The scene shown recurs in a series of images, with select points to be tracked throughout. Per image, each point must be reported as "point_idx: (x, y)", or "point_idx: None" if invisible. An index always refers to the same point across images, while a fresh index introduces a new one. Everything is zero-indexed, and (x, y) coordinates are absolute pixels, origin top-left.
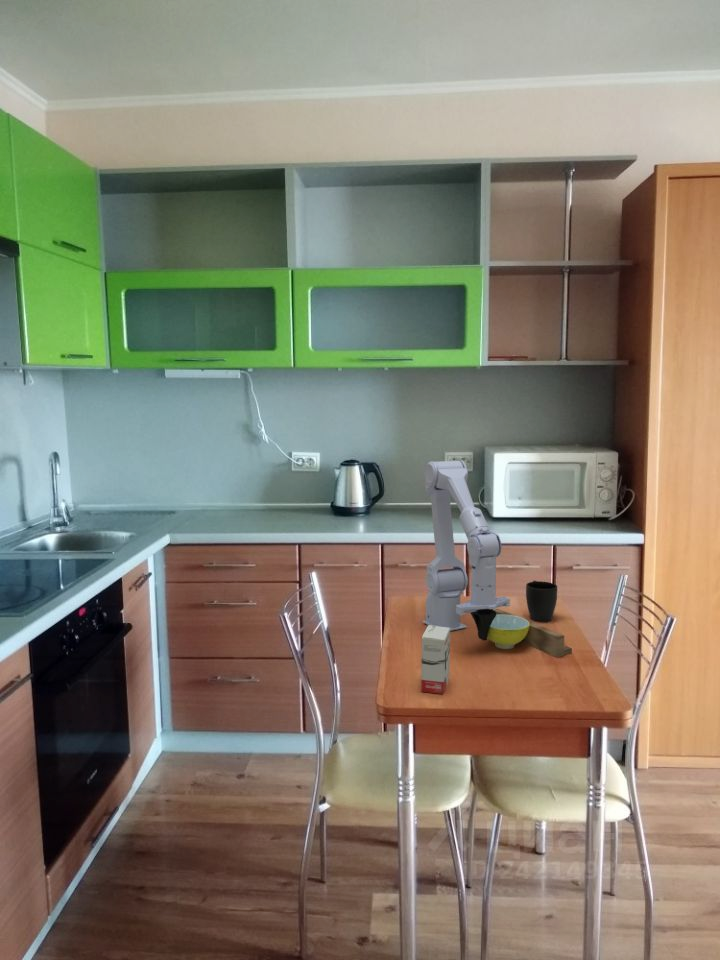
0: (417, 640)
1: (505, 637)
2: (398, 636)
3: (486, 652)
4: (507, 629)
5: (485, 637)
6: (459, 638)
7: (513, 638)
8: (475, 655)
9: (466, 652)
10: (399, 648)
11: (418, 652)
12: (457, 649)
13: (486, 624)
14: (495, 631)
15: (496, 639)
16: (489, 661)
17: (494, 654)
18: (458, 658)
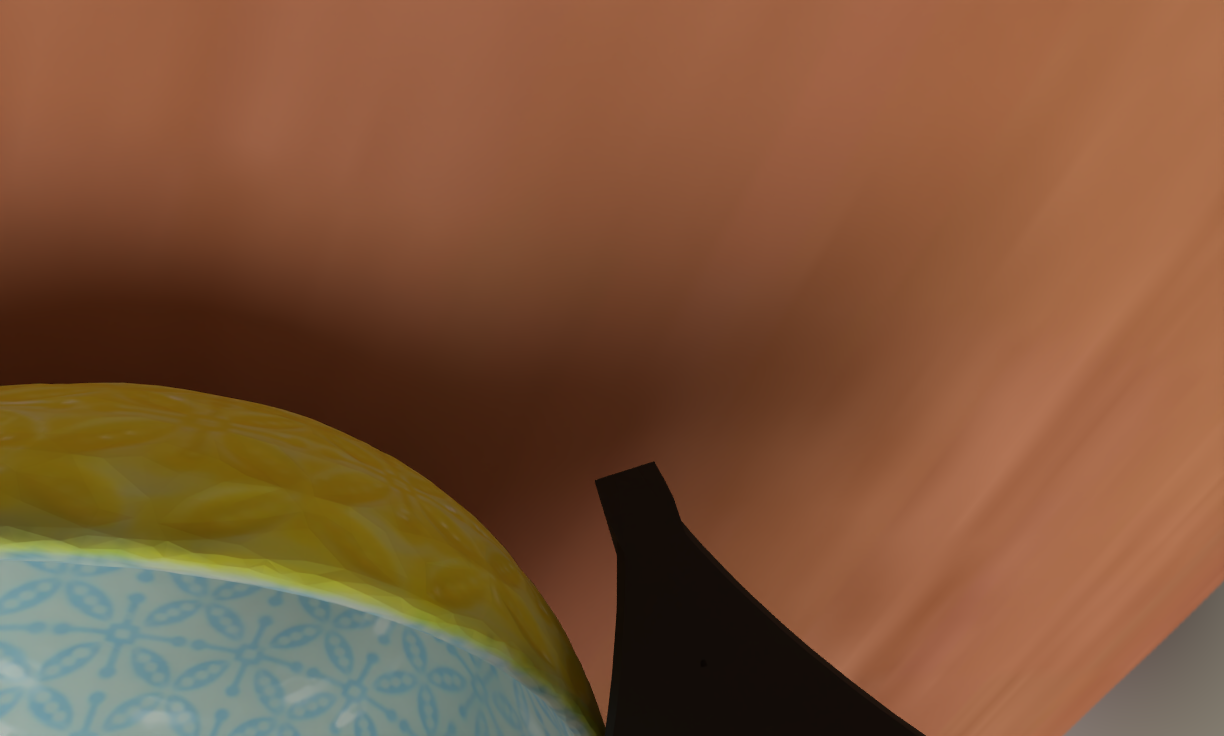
0: (991, 664)
1: (237, 423)
2: (1044, 718)
3: (563, 358)
4: (110, 565)
5: (649, 495)
6: None
7: (4, 390)
8: (752, 287)
9: (796, 393)
10: (1214, 537)
11: (1176, 450)
12: (831, 480)
13: (779, 722)
14: (472, 578)
15: (418, 477)
16: (688, 2)
17: (481, 271)
18: (992, 235)
